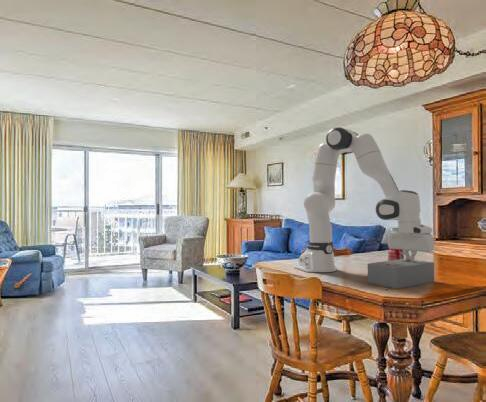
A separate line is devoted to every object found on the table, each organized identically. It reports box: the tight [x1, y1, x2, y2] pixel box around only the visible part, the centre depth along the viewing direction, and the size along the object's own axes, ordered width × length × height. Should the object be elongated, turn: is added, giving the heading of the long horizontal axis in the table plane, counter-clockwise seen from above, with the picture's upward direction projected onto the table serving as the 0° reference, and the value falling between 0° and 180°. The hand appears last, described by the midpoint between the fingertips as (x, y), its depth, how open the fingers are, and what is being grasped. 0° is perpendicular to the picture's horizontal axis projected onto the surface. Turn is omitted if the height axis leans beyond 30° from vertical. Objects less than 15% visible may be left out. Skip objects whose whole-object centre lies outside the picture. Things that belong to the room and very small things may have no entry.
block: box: [367, 258, 435, 290], centre depth 160 cm, size 14×24×8 cm, turn 120°
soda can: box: [387, 248, 405, 261], centre depth 180 cm, size 7×7×12 cm
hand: (410, 260), depth 163 cm, fingers closed, pressing on peg
